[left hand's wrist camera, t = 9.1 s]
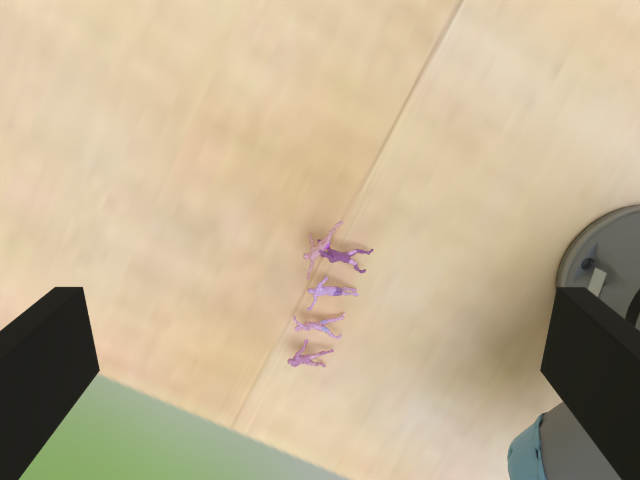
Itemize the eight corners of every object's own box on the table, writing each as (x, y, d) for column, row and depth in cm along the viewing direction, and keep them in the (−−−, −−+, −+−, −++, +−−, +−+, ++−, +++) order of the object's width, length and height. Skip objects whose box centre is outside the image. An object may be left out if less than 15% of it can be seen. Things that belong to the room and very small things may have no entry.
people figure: (333, 385, 49) (269, 381, 45) (316, 350, 53) (256, 345, 50) (403, 239, 43) (335, 222, 39) (376, 215, 48) (313, 198, 44)
